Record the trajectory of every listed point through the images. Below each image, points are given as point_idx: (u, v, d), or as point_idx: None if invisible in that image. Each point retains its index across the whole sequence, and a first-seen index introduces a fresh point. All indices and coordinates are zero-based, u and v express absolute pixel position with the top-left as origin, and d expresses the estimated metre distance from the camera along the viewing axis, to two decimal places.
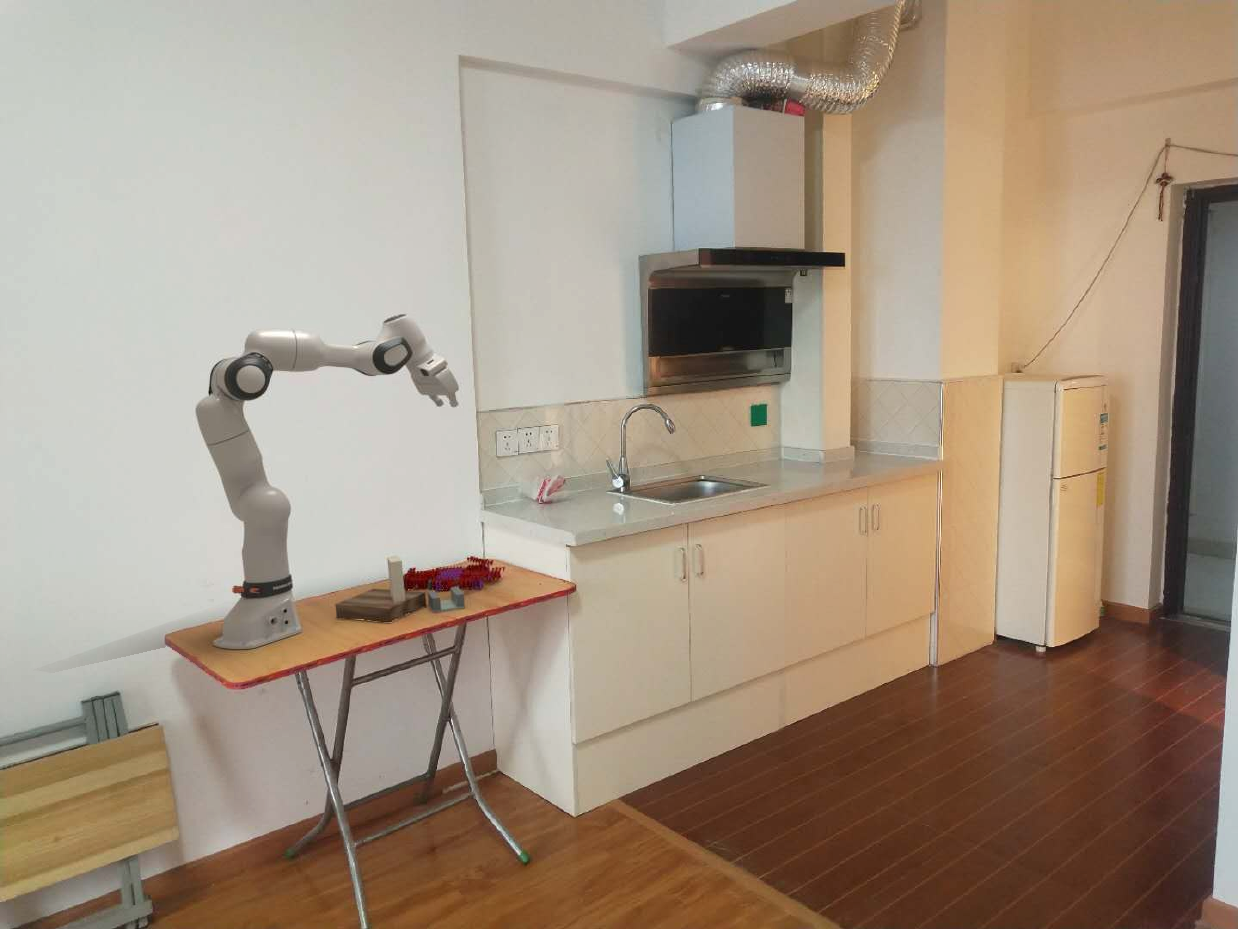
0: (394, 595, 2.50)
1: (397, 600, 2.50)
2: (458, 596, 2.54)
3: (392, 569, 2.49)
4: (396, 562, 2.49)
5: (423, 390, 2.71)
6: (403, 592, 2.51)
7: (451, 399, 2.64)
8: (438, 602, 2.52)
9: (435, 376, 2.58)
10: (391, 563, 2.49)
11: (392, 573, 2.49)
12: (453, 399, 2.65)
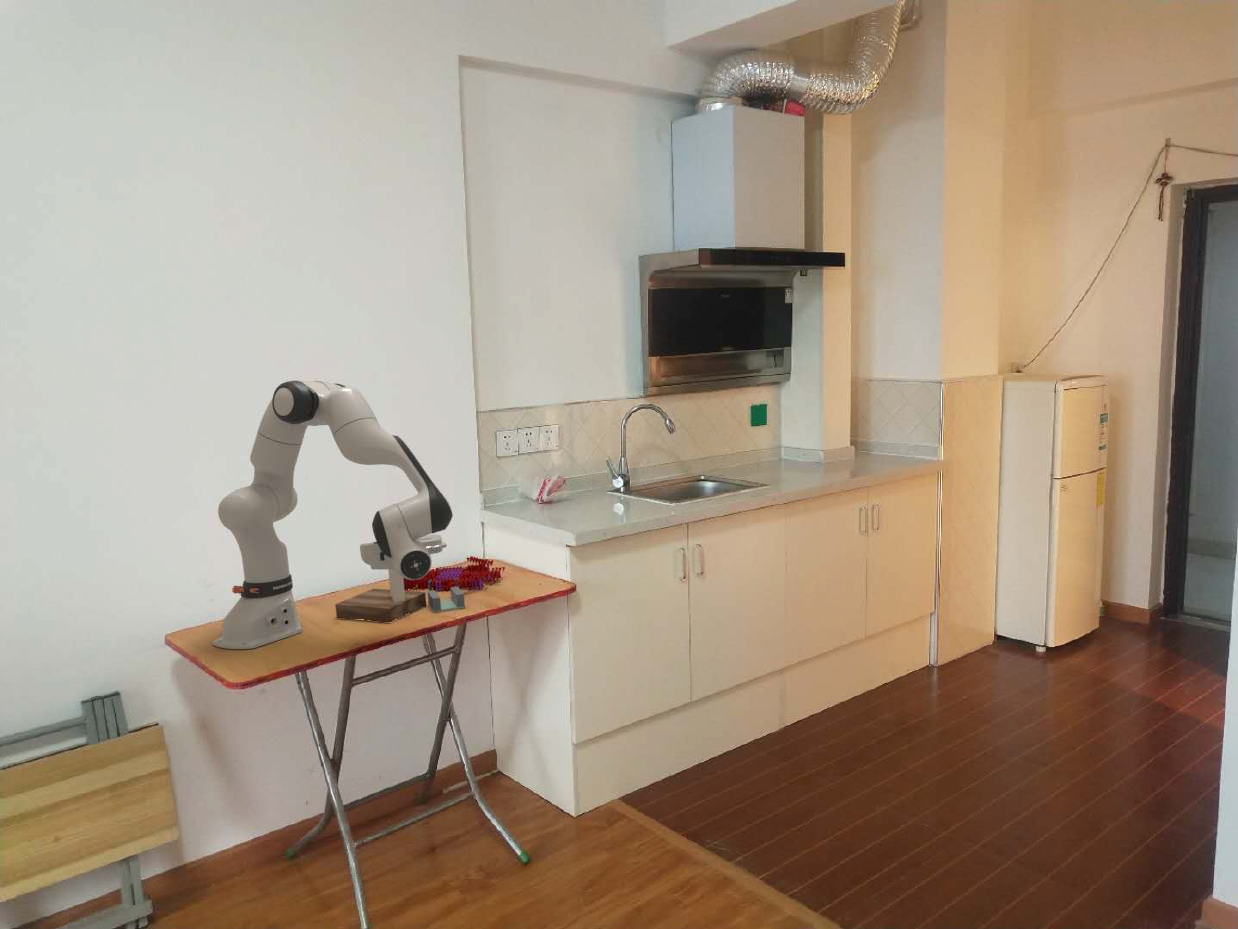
0: (394, 595, 2.50)
1: (397, 600, 2.50)
2: (458, 596, 2.54)
3: None
4: None
5: (423, 536, 2.36)
6: (403, 592, 2.51)
7: None
8: (438, 602, 2.52)
9: (368, 546, 2.26)
10: None
11: (392, 573, 2.49)
12: None
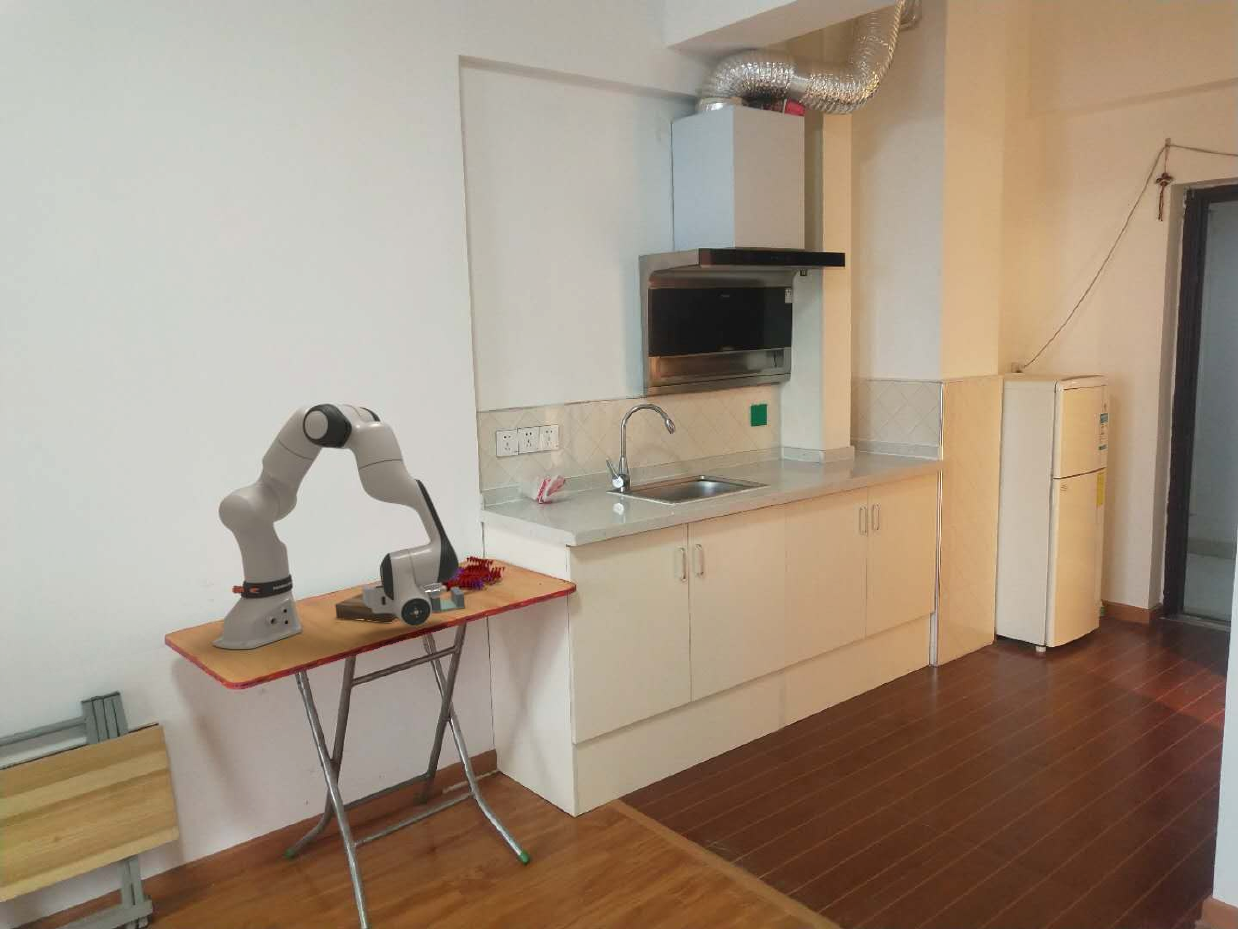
0: None
1: None
2: (458, 596, 2.54)
3: None
4: None
5: None
6: None
7: None
8: (438, 602, 2.52)
9: (369, 590, 2.31)
10: None
11: None
12: None
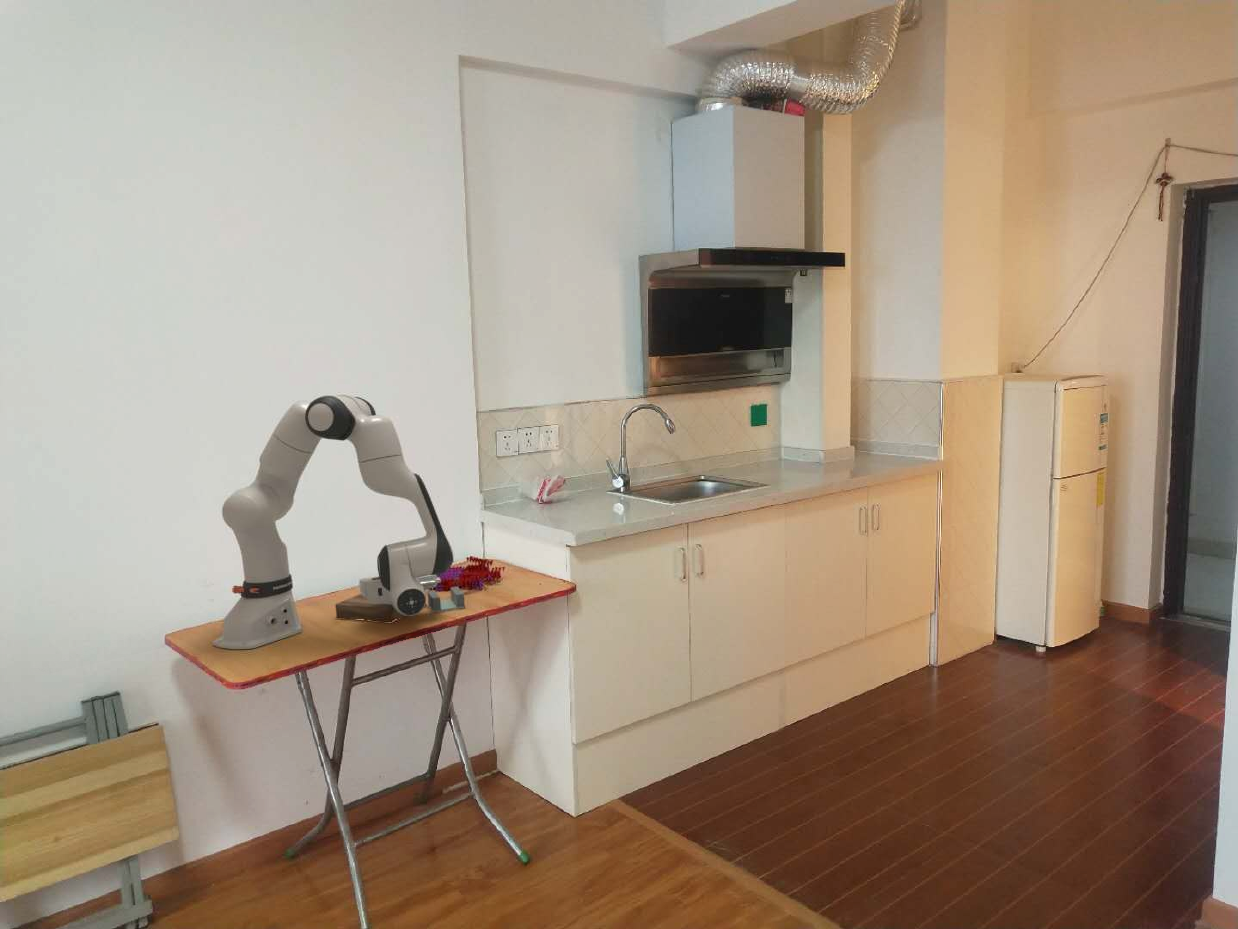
0: None
1: None
2: (458, 596, 2.54)
3: None
4: None
5: None
6: None
7: None
8: (438, 602, 2.52)
9: (366, 582, 2.40)
10: None
11: None
12: None
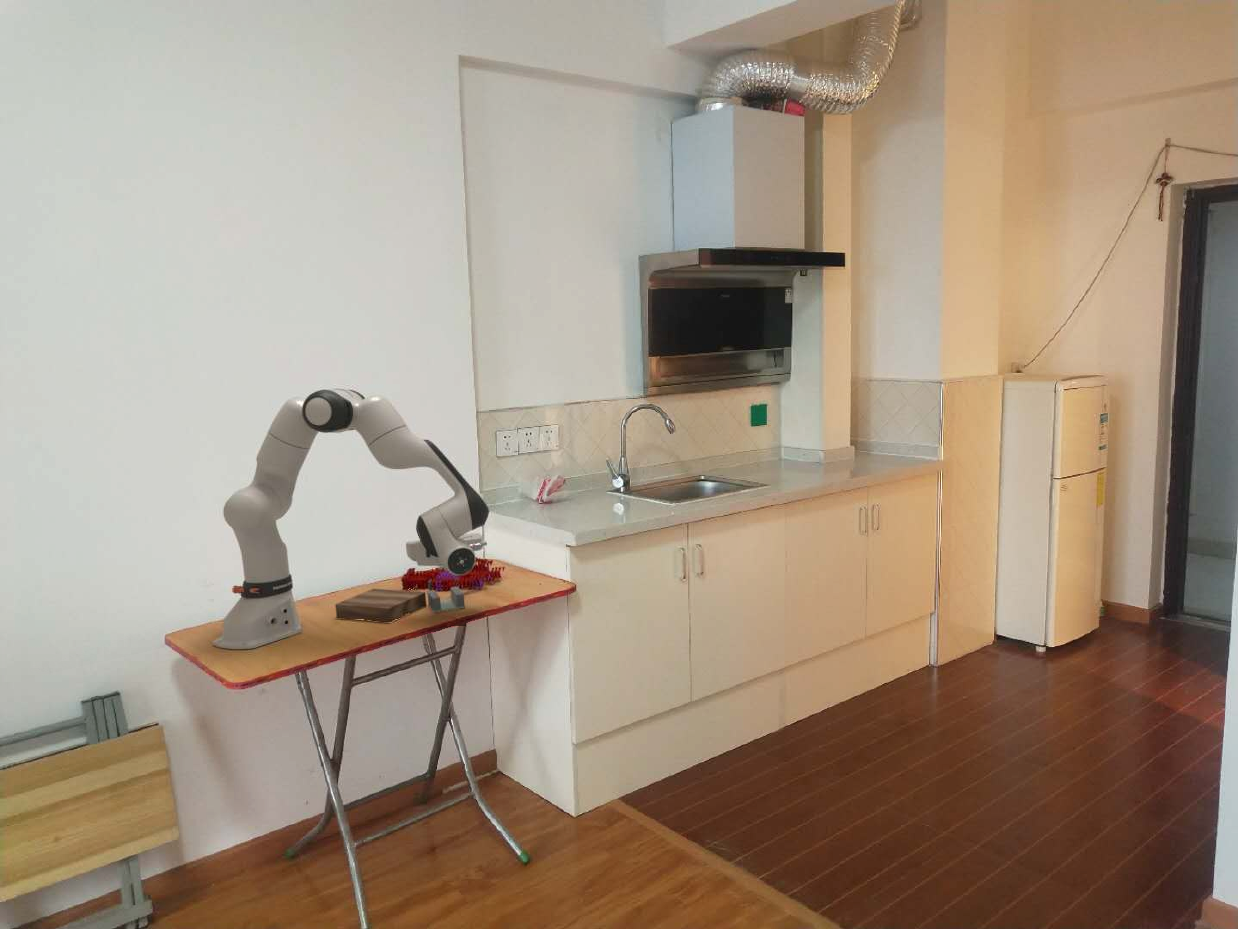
0: None
1: None
2: (458, 596, 2.54)
3: None
4: None
5: (464, 535, 2.51)
6: None
7: None
8: (438, 602, 2.52)
9: (414, 544, 2.42)
10: None
11: None
12: None
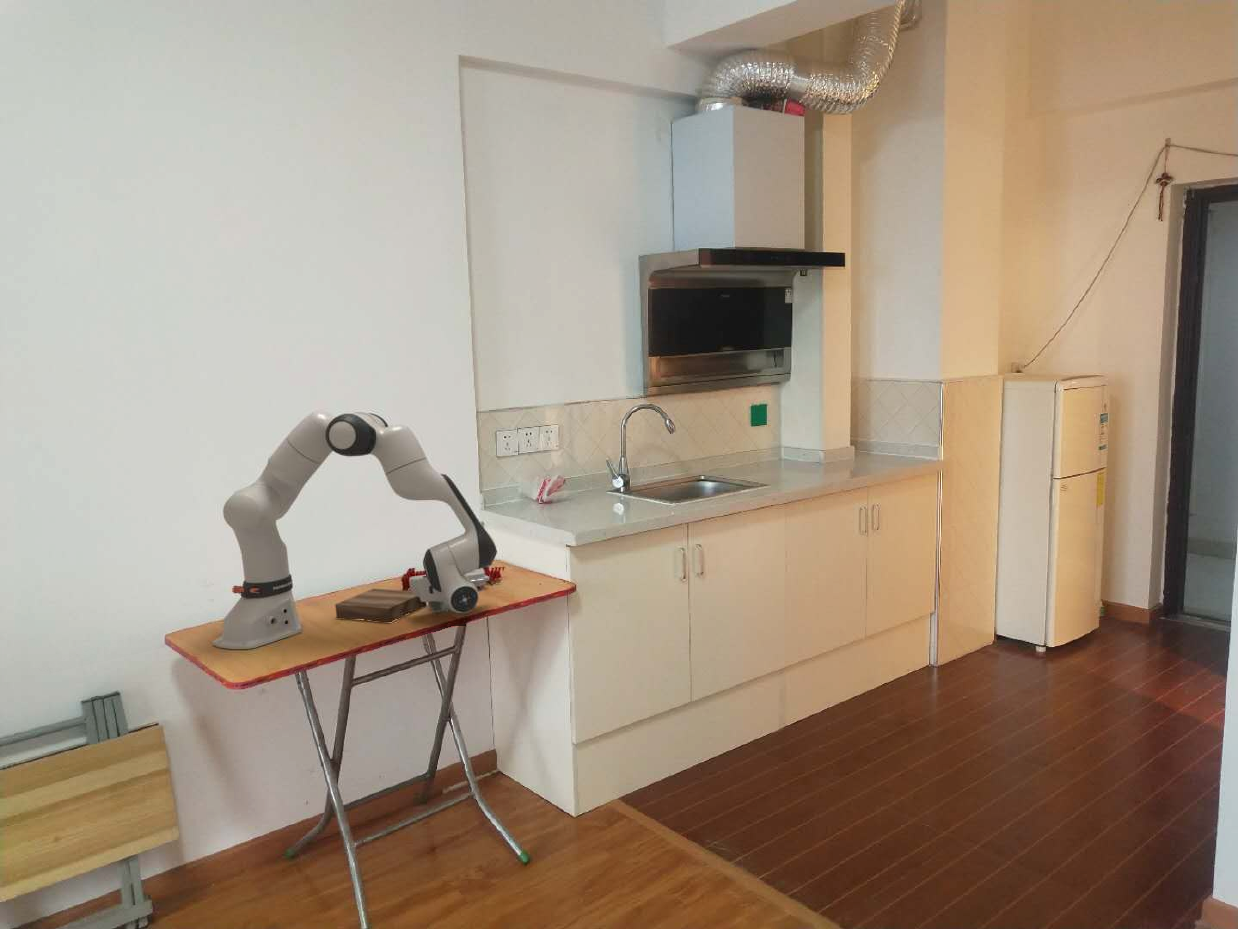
0: None
1: (446, 606, 2.54)
2: None
3: None
4: None
5: None
6: None
7: None
8: (438, 602, 2.52)
9: (417, 580, 2.43)
10: None
11: None
12: None
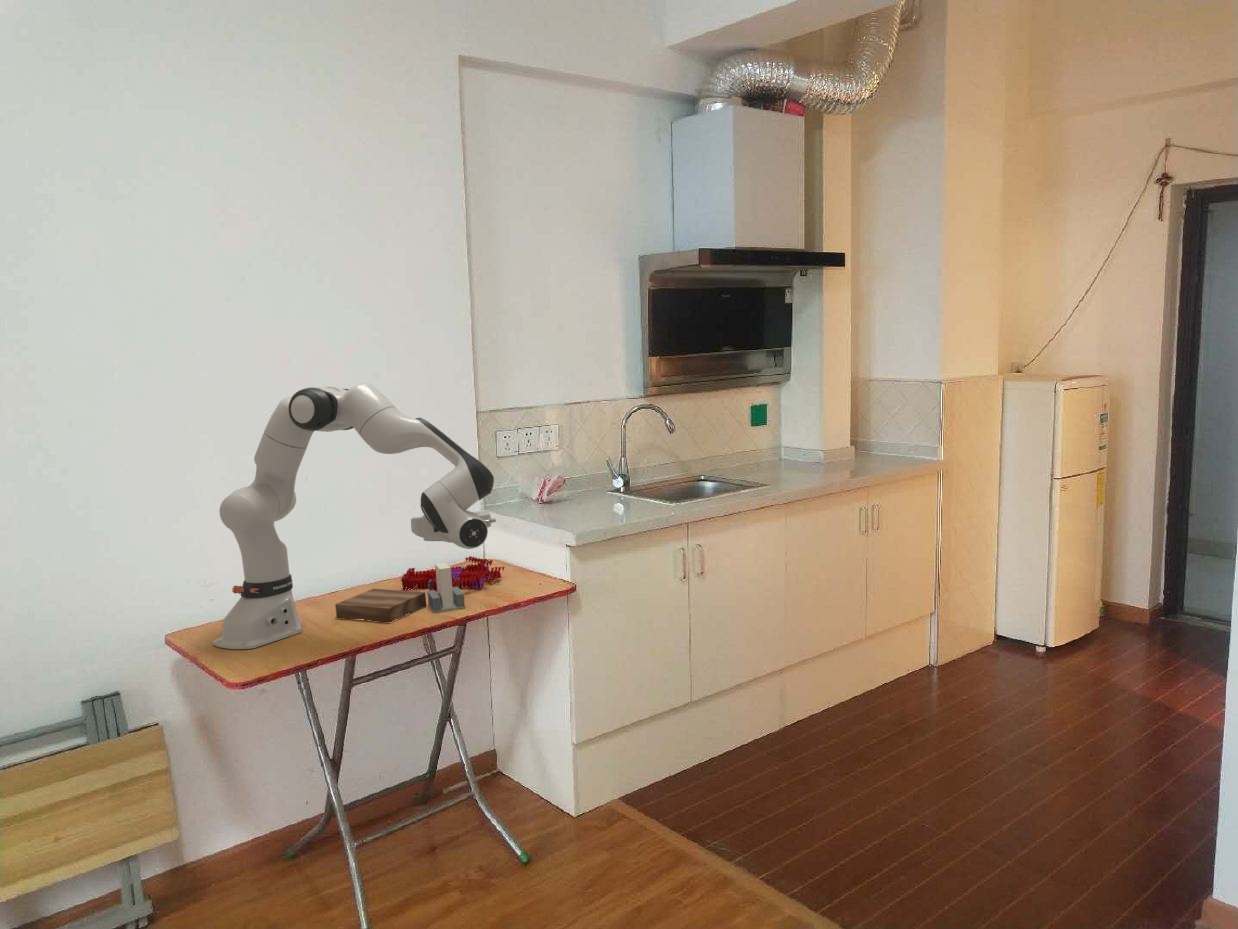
0: (443, 601, 2.53)
1: (446, 606, 2.54)
2: (458, 596, 2.54)
3: (441, 576, 2.52)
4: (445, 569, 2.53)
5: None
6: (452, 598, 2.54)
7: None
8: (438, 602, 2.52)
9: (421, 518, 2.31)
10: (440, 570, 2.52)
11: (441, 580, 2.52)
12: None
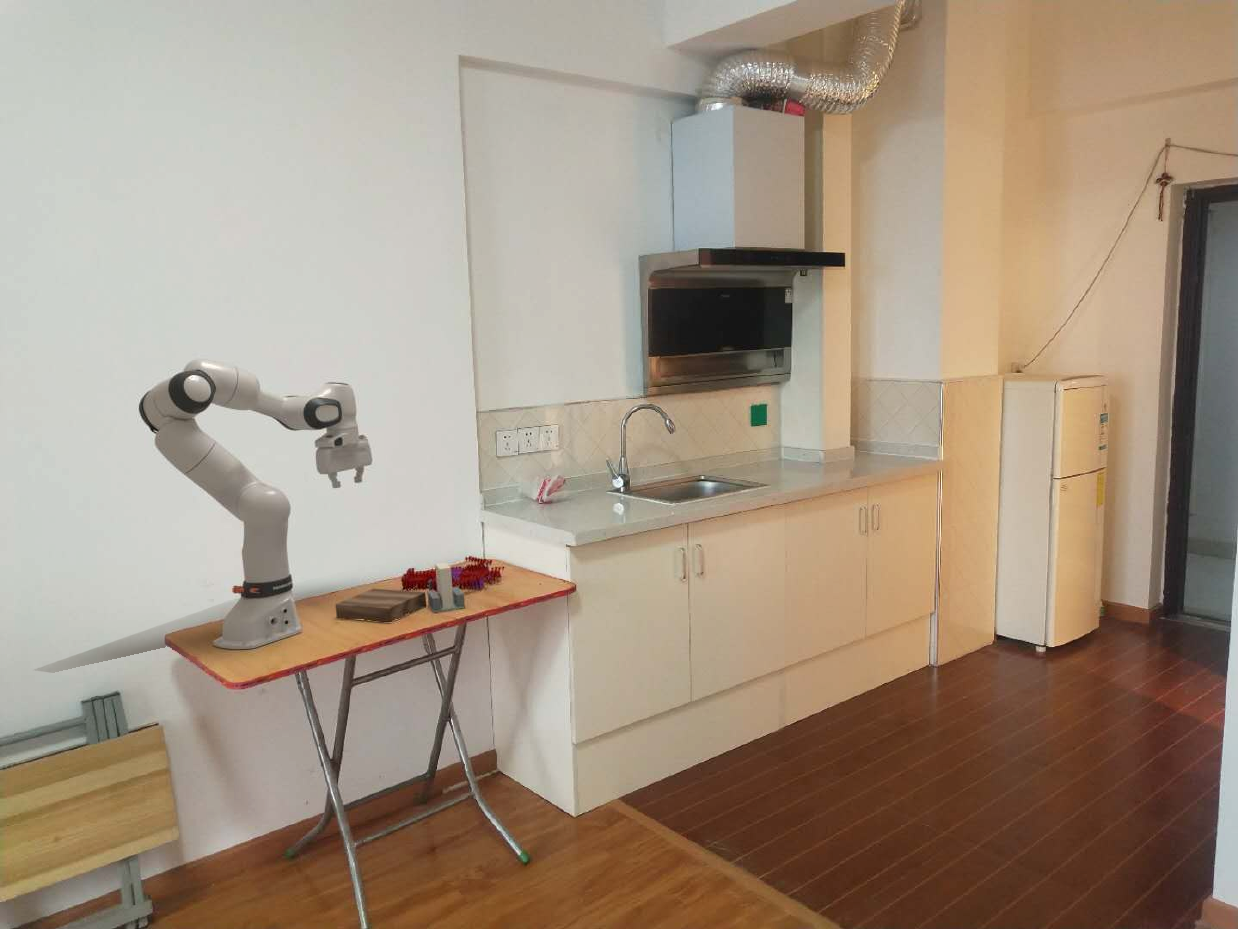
0: (443, 601, 2.53)
1: (446, 606, 2.54)
2: (458, 596, 2.54)
3: (441, 576, 2.52)
4: (445, 569, 2.53)
5: None
6: (452, 598, 2.54)
7: (330, 479, 2.65)
8: (438, 602, 2.52)
9: (317, 450, 2.62)
10: (440, 570, 2.52)
11: (441, 580, 2.52)
12: (333, 480, 2.65)
